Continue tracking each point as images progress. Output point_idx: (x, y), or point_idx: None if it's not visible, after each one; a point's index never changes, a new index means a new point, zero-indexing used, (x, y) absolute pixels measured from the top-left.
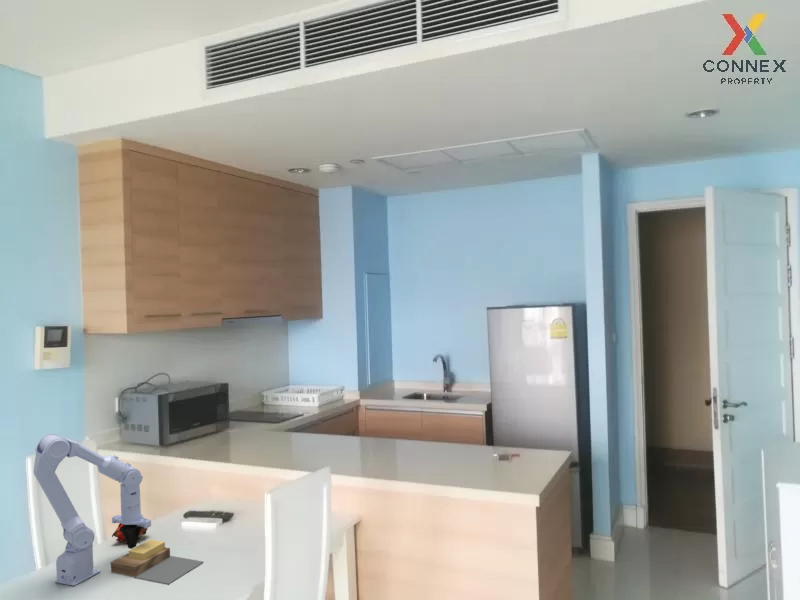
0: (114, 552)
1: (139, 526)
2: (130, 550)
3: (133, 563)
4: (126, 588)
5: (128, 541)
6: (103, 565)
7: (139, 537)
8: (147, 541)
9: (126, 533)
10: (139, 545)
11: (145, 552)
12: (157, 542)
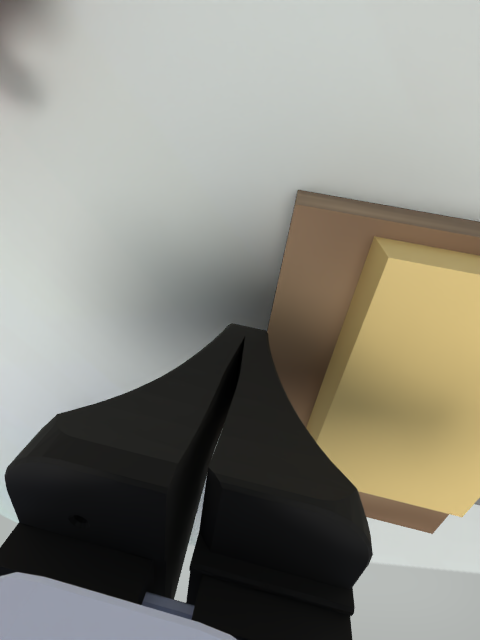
0: (45, 214)
1: (344, 592)
2: None
3: (391, 500)
4: (419, 544)
5: (221, 425)
6: (143, 377)
7: None
8: (375, 309)
9: (192, 527)
10: (338, 397)
11: (474, 501)
12: None
